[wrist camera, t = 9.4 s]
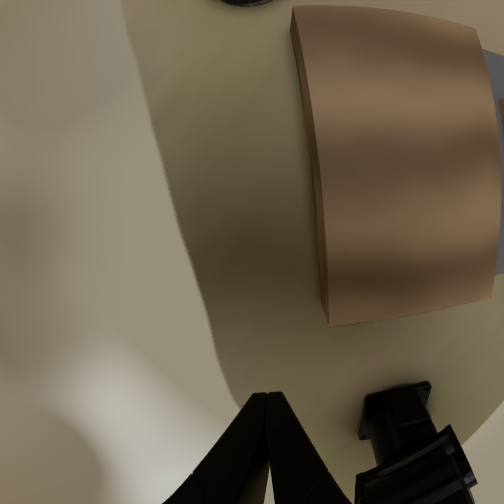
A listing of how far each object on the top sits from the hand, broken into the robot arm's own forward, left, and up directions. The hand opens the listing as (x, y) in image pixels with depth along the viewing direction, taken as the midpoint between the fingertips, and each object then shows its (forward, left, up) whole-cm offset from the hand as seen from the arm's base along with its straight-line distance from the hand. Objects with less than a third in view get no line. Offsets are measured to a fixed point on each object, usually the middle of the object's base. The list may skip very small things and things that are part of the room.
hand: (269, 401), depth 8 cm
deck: (+6, -9, -12) cm, 16 cm away
